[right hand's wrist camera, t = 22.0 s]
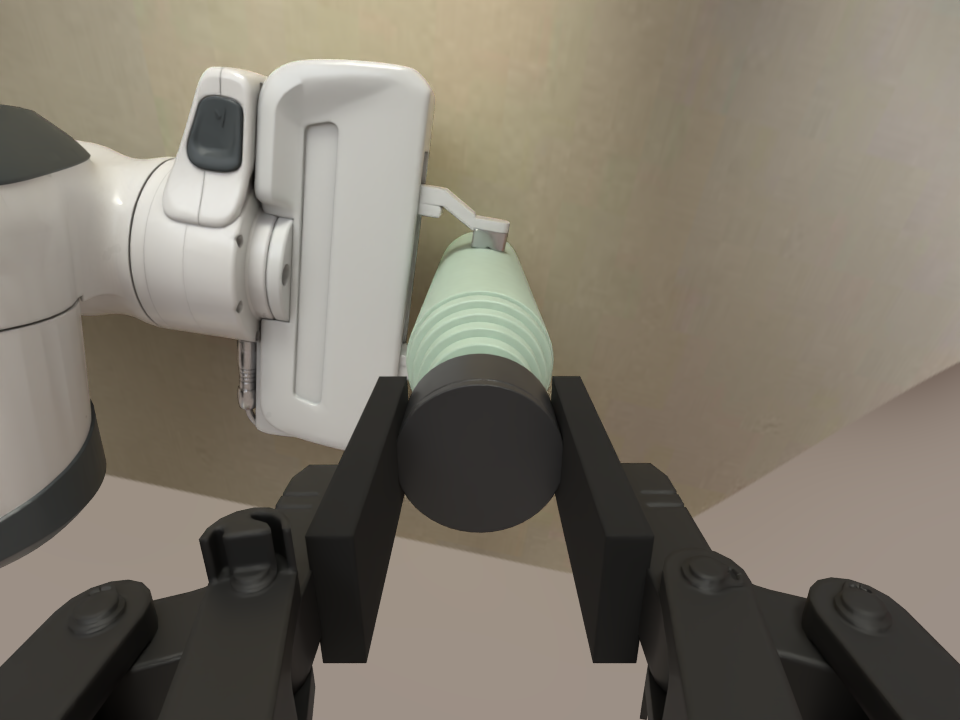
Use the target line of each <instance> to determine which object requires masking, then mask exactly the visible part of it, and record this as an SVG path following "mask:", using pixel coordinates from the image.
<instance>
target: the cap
mask: <svg viewBox="0 0 960 720" xmlns="http://www.w3.org/2000/svg"><path fill="white" fill-rule="evenodd" d="M396 444H397V461H398V476H399V484H400V486H401V488H402V490H403V492H404V493H405V495H406V496H407V498H408V499H409V501H410V502H411V503H412V504H413V505H414V506H415V507H416V508H417V509H418V510H419V511H420V512H421V513H423V514H424V515H425V516H427V517H428V518H430V519H431V520H433V521H435V522H437V523H439V524H441V525H444V526H446V527H449V528H452V529H456V530H460V531H466V532H479V533H483V532H494V531H499V530H504V529H507V528H511V527H513V526H516V525H518V524H520V523H523V522H524V521H526V520H528V519H530V518H531V517H533V516H534V515H535V514H537V513H538V512H539V511H540V510H541V509H542V508H543V507H544V506H546V504H547V503H548V502H549V501H550V500H551V498H552V497H553V495H554V494H555V492H556V490H557V489H558V486H559V484H560V482H561V467H562V451H563V440H562V437H561V433H560V430H559V427H558V423H557V420H556V416H555V413H554V410H553V406H552V403H551V400H550V397H549V395H548V393H547V391H546V389H545V388H544V386H543V385H542V383H541V382H540V381H539V379H538V378H537V377H536V376H535V375H534V374H533V373H532V372H530V371H529V370H528V369H527V368H525V367H524V366H522V365H520V364H519V363H517V362H515V361H512V360H510V359H508V358H505V357H501V356H497V355H492V354H482V353H481V354H467V355H462V356H458V357H454V358H452V359H449V360H447V361H445V362H443V363H441V364H439V365H437V366H436V367H434V368H433V369H431V370H430V371H429V372H428V373H427V374H426V375H424V377H423V378H422V379H421V380H420V381H419V382H418V384H417V385H416V387H415V388H414V390H413V392H412V394H411V396H410V398H409V401H408V405H407V408H406V411H405V415H404V418H403V421H402V425H401V428H400V431H399V435H398V438H397V442H396Z"/></svg>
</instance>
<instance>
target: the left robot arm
mask: <svg viewBox="0 0 960 720" xmlns="http://www.w3.org/2000/svg"><path fill="white" fill-rule="evenodd" d="M434 110H435V94H434V92H433V90H432V88H431V86H430V85H429V83H428V82H427V80H426V79H425V78H424V77H423V76H422V75H421V74H420V72H418V71H417V70H415V69H413V68H410V67H406V66H401V65H396V64H389V63H381V62H373V61H361V60H345V59H306V60H298V61H293V62H290V63H287V64H284V65H282V66H280V67H278V68H277V69H275V70H274V71H273V72H272V73H271V74H270V75H269V76H268V77H266V76H264V75H261V74H259V73H256V72H252V71H249V70H244V69H239V68H233V67H210V68H208V69H207V70H205V71H204V73H203V74H202V76H201V78H200V80H199V83H198V86H197V89H196V92H195V96H194V99H193V103H192V107H191V110H190V114H189V117H188V121H187V124H186V127H185V131H184V134H183V137H182V140H181V144H180V147H179V150H178V153H177V156H176V157H159V158H152V159H136V158H132V157H128V156H125V155H123V154H121V153H119V152H116V151H114V150H112V149H110V148H108V147H105V146H102V145H99V144H95V143H90V142H84V141H79V140H74V139H73V138H72V137H71V136H69V135H68V134H67V133H65V132H64V131H62V130H61V129H59V128H58V127H56V126H55V125H53V124H52V123H51V122H49V121H48V120H46V119H45V118H43V117H42V116H40V115H39V114H37V113H36V112H34V111H32V110H28V109H24V108H20V107H15V106H8V105H0V568H1V567H4V566H6V565H8V564H10V563H12V562H14V561H16V560H18V559H20V558H21V557H23V556H25V555H27V554H29V553H30V552H32V551H34V550H35V549H37V548H38V547H40V546H41V545H43V544H44V543H45V542H47V541H48V540H50V539H51V538H52V537H54V536H55V535H56V534H57V533H58V532H60V531H61V530H62V529H63V528H64V527H66V526H67V525H68V524H69V523H70V522H71V521H72V520H73V519H74V518H75V517H76V516H77V515H78V514H79V513H80V511H81V510H82V509H83V508H84V507H85V506H86V505H87V504H88V503H89V501H90V500H91V499H92V498H93V497H94V495H95V494H96V492H97V491H98V489H99V488H100V486H101V484H102V482H103V479H104V476H105V472H106V459H105V455H104V450H103V446H102V441H101V437H100V432H99V428H98V423H97V419H96V414H95V410H94V405H93V403H92V401H91V399H90V394H89V385H88V375H87V366H86V356H85V347H84V338H83V328H82V319H81V315H84V316H97V315H106V314H124V315H129V316H132V317H135V318H137V319H139V320H142V321H144V322H146V323H148V324H151V325H154V326H157V327H161V328H166V329H173V330H179V331H186V332H192V333H199V334H205V335H212V336H218V337H225V338H231V339H237V347H238V369H239V379H240V380H239V386H238V393H237V396H238V403H239V406H240V408H241V409H244V410H245V411H246V414H247V416H248V418H249V419H250V421H251V422H252V423H253V424H254V425H255V426H256V428H257V429H258V430H260V431H261V432H264V433H267V434H273V435H280V436H287V437H297V438H300V439H303V440H306V441H309V442H313V443H316V444H320V445H324V446H328V447H332V448H336V449H340V450H344V451H345V449H346V447H347V445H348V442H349V440H350V438H351V436H352V434H353V432H354V430H355V427H356V425H357V423H358V421H359V419H360V417H361V415H362V412H363V410H364V408H365V406H366V404H367V402H368V400H369V397H370V395H371V393H372V391H373V389H374V387H375V385H376V382H377V380H378V378H379V376H407V380H408V373H407V367H406V352H407V345H408V344H407V343H406V340H407V332H408V324H409V315H410V307H411V299H412V291H413V282H414V274H415V266H416V258H417V250H418V241H419V233H420V225H421V217H422V216H428V217H435V218H439V217H440V216H441V215H442V213H443V210H444V208H445V209H446V210H448V211H449V212H450V213H451V214H452V215H454V216H455V217H456V218H457V219H459V220H460V221H461V222H462V223H464V224H465V225H466V226H467V227H468V228H470V229H471V230H472V231H473V237H472V244H471V247H475V248H482V249H485V248H487V247H489V248H490V249H491V250H494V251H499V252H505V247H506V242H507V237H508V231H509V226H510V223H509V221H506V220H503V219H497V218H491V217H486V216H480V215H476V212H475V211H474V210H472V209H471V208H470V207H469V206H468V205H467V204H465V203H464V202H463V201H462V200H461V199H459V198H458V197H457V196H456V195H455V194H454V193H452V192H451V191H450V190H449V189H448V188H444V187H439V186H433V185H427V184H426V176H427V167H428V159H429V151H430V143H431V135H432V126H433V118H434ZM254 408H256V415H255V414H254V412H253V409H254Z"/></svg>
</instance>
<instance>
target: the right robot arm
mask: <svg viewBox="0 0 960 720" xmlns="http://www.w3.org/2000/svg"><path fill="white" fill-rule="evenodd" d="M551 403H552V406H553V410H554V413H555V416H556V420H557V423H558V427H559V430H560V433H561V437H562V440H563V451H562V467H561V482H560V484H559V486H558V489H557V490H556V492H555V496H556V501H557V505H558V510H559V514H560V518H561V523H562V527H563V532H564V536H565V541H566V545H567V550H568V554H569V558H570V563H571V567H572V572H573V576H574V581H575V585H576V589H577V594H578V598H579V603H580V607H581V612H582V616H583V621H584V625H585V629H586V634H587V638H588V643H589V647H590V652H591V656H592V660H593V663H636V661H637V654H638V647H639V641H640V642H641V645H642V648H643V651H644V654H645V657H646V660H647V663H648V668H647V674H646V681H645V687H644V694H643V700H642V707H641V714H640V719H645V720H647V715H648V720H960V664H959V663H958V662H957V661H956V660H955V659H954V658H953V657H952V656H951V655H950V654H949V653H948V652H947V651H946V650H945V649H944V648H943V647H942V646H941V645H940V644H939V643H938V642H937V641H936V640H935V639H934V638H933V637H932V636H931V635H930V634H929V633H928V632H927V631H926V630H925V629H924V628H923V627H922V626H921V625H920V624H919V623H918V622H917V621H916V620H915V619H914V618H913V617H912V616H911V615H910V614H909V613H908V612H907V611H906V610H905V609H904V608H903V607H901V606H900V605H899V604H898V603H896V602H895V601H894V600H893V599H891V598H890V597H889V596H887V595H885V594H883V593H881V592H880V591H878V590H876V589H874V588H872V587H870V586H868V585H865V584H862V583H859V582H856V581H853V580H849V579H841V578H832V577H831V578H826V579H822V580H818V581H816V582H815V583H814V584H813V585H812V586H811V587H810V590H809V593H808V597H807V598H803V597H799V596H794V595H790V594H786V593H782V592H777V591H773V590H769V589H766V588H762V587H759V586H756V585H754V584H752V583H751V581H750V579H749V578H748V576H747V575H746V573H745V571H744V570H743V569H742V568H741V567H739V566H738V565H737V564H736V563H735V562H733V561H732V560H731V559H729V558H727V557H725V556H723V555H721V554H719V553H717V552H715V551H712V550H711V549H710V547H709V545H708V544H707V542H706V540H705V538H704V537H703V535H702V533H701V532H700V530H699V528H698V527H697V525H696V523H695V522H694V520H693V518H692V517H691V515H690V513H689V512H688V510H687V508H686V507H684V503H683V502H682V500H681V498H680V497H679V495H678V494H677V493H676V490H675V488H674V486H673V485H672V483H671V481H670V480H669V478H668V476H666V475H665V474H664V473H663V472H661V471H660V470H659V469H657V468H656V467H655V466H653V465H652V464H651V463H620V461H619V459H618V457H617V455H616V452H615V450H614V448H613V446H612V444H611V442H610V440H609V437H608V435H607V433H606V431H605V429H604V427H603V424H602V422H601V420H600V418H599V416H598V414H597V412H596V409H595V407H594V405H593V403H592V401H591V399H590V397H589V394H588V392H587V390H586V388H585V386H584V384H583V382H582V379H581V377H580V376H552V394H551ZM407 405H408V387H407V376H379V378H378V380H377V382H376V385H375V387H374V389H373V391H372V393H371V395H370V397H369V400H368V402H367V404H366V406H365V408H364V410H363V412H362V415H361V417H360V419H359V421H358V423H357V425H356V427H355V430H354V432H353V434H352V436H351V438H350V440H349V442H348V445H347V447H346V449H345V451H344V453H343V455H342V457H341V460H340V462H339V464H338V465H308V466H307V467H306V468H304V469H303V470H302V471H301V472H299V473H298V474H297V475H295V476H294V477H293V478H292V479H291V481H290V482H289V484H288V486H287V488H286V489H285V491H284V493H283V496H281V498H280V499H279V501H278V503H277V504H276V509H273V508H250V509H245V510H241V511H237V512H234V513H232V514H230V515H228V516H225V517H223V518H221V519H219V520H218V521H217V522H215V523H214V524H212V525H211V526H210V527H208V528H207V529H206V531H205V532H204V533H203V535H202V536H201V537H200V539H199V542H200V546H201V550H202V554H203V559H204V563H205V567H206V572H207V576H208V580H209V584H208V586H206V587H204V588H201V589H198V590H195V591H191V592H187V593H183V594H179V595H175V596H170V597H166V598H162V599H158V600H153V599H152V596H151V592H150V590H149V589H148V588H147V587H146V586H145V585H144V584H143V583H142V582H137V581H132V580H122V581H112V582H108V583H105V584H102V585H99V586H96V587H93V588H90V589H89V590H87V591H85V592H83V593H81V594H79V595H77V596H76V597H74V598H72V599H70V600H69V601H68V602H67V603H65V604H64V605H63V606H62V607H60V608H59V609H58V610H57V611H55V612H54V613H53V614H52V615H51V616H50V617H49V618H48V619H47V620H46V621H45V622H44V623H43V624H42V625H41V626H40V627H39V628H38V629H37V630H36V631H35V632H34V633H33V635H32V636H31V637H29V639H28V640H27V641H26V642H25V643H24V644H23V645H22V646H21V647H20V648H19V649H18V650H17V651H16V652H15V653H14V654H13V655H12V656H11V657H10V658H9V659H8V660H7V661H6V662H5V663H4V664H3V665H2V666H1V667H0V720H312V716H313V705H314V694H315V682H314V674H313V668H312V664H313V661H314V658H315V655H316V652H317V649H318V646H319V643H320V645H321V652H322V659H323V663H366V662H367V658H368V653H369V649H370V645H371V640H372V636H373V631H374V627H375V622H376V618H377V614H378V609H379V605H380V600H381V596H382V591H383V587H384V582H385V578H386V574H387V569H388V565H389V560H390V556H391V551H392V547H393V543H394V538H395V534H396V529H397V525H398V520H399V516H400V511H401V507H402V503H403V498H404V494H405V493H404V492H403V490H402V488H401V486H400V484H399V476H398V461H397V444H396V442H397V438H398V435H399V431H400V428H401V425H402V421H403V418H404V415H405V411H406V408H407Z"/></svg>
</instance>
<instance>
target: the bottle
mask: <svg viewBox="0 0 960 720" xmlns="http://www.w3.org/2000/svg"><path fill="white" fill-rule="evenodd" d="M472 237H473V232H470V233H467V234H464V235H462V236H460V237H458V238H457V239H455V240H454V241H453V242H452V243H451V244H450V245H449V246H448V247H447V248H446V250H445V252H444V253H443V256H442V258H441V260H440V263H439V265H438V268H437V270H436V273H435V275H434V278H433V280H432V283H431V285H430V288H429V290H428V293H427V295H426V298H425V300H424V303H423V305H422V308H421V310H420V313H419V315H418V318H417V320H416V323H415V325H414V328H413V330H412V333H411V335H410V338H409V342H408V345H407V352H406V367H407V373H408V380H409V383H410V387H411V390H412V392H413V390H414V388H415V387H416V385H417V384H418V382H419V381H420V380H421V379H422V378H423V377H424V375H426V374H427V373H428V372H429V371H430V370H431V369H433V368H434V367H436V366H437V365H439V364H441V363H443V362H445V361H447V360H449V359H452V358H454V357H458V356H462V355H467V354H481V353H482V354H492V355H497V356H501V357H505V358H508V359H510V360H512V361H515V362H517V363H519V364H520V365H522V366H524V367H525V368H527V369H528V370H529V371H530V372H532V373H533V374H534V375H535V376H536V377H537V378H538V379H539V381H540V382H541V383H542V385H543V386H544V388H545V389H546V391H547V390H548V388H549V385H550V381H551V377H552V371H553V349H552V343H551V340H550V337H549V334H548V332H547V329H546V327H545V324H544V322H543V319H542V317H541V314H540V312H539V309H538V307H537V304H536V302H535V299H534V297H533V294H532V292H531V289H530V287H529V284H528V282H527V279H526V276H525V274H524V271H523V269H522V266H521V264H520V261H519V259H518V256H517V254H516V252H515V251H514V249H513V248H512V246H511V245H510V244H509V243H508V242H506V247H505V252H499V251H494V250H491V249H490V248H489V247H487V248H485V249H482V248H475V247H471V244H472Z"/></svg>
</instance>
